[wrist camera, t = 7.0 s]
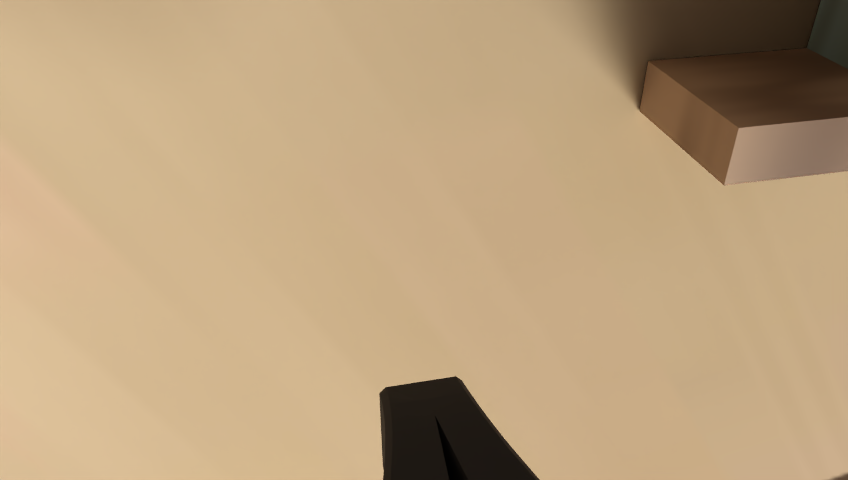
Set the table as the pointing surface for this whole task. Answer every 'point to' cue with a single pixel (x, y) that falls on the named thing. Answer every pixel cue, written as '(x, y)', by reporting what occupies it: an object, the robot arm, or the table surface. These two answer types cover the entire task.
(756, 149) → the dock
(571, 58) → the table surface
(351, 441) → the table surface
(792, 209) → the table surface
